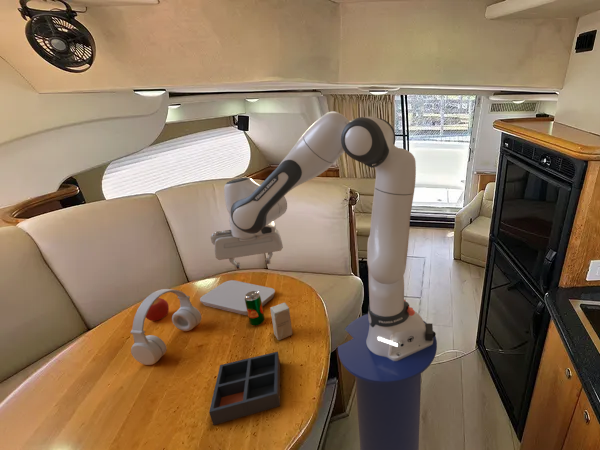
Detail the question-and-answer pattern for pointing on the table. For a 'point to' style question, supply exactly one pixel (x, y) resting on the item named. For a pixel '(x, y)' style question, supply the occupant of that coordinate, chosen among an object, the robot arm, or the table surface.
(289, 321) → the box
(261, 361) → the grid
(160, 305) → the apple
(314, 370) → the table surface
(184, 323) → the headphones
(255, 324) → the soda can
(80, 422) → the table surface
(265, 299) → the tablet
